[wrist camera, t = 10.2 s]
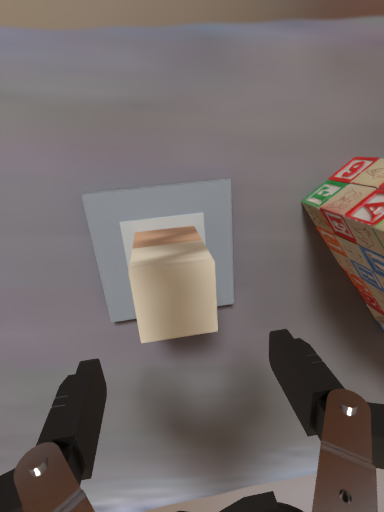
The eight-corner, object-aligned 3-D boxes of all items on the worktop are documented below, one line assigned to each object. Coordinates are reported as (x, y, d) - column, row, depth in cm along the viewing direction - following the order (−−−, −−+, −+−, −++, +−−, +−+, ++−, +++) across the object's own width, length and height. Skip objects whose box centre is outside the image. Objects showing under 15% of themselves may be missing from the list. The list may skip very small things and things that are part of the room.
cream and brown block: (193, 225, 23) (214, 261, 16) (197, 277, 25) (217, 331, 18) (134, 232, 23) (128, 272, 15) (143, 285, 25) (141, 343, 17)
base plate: (227, 178, 23) (231, 179, 22) (231, 298, 28) (234, 304, 27) (84, 192, 22) (81, 195, 21) (112, 316, 27) (110, 323, 26)
